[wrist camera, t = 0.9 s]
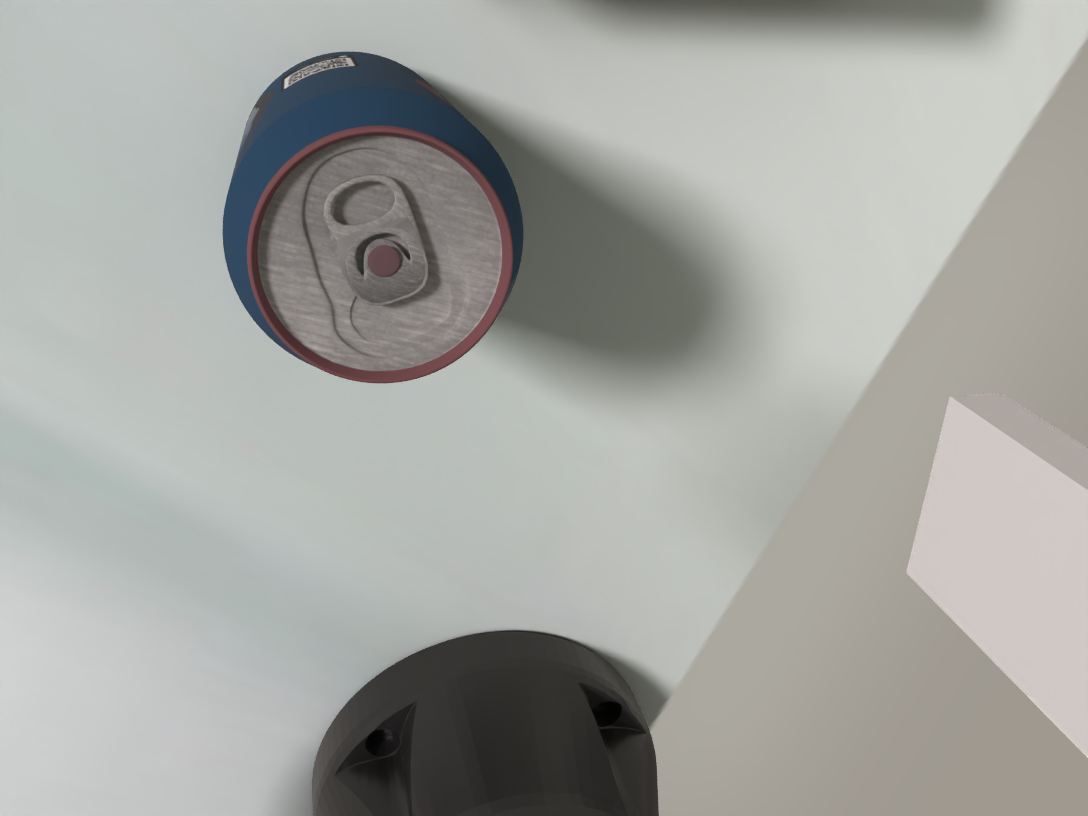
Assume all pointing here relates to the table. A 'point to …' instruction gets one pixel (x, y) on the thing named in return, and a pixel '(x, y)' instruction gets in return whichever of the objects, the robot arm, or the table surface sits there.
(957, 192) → the table surface
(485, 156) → the soda can
